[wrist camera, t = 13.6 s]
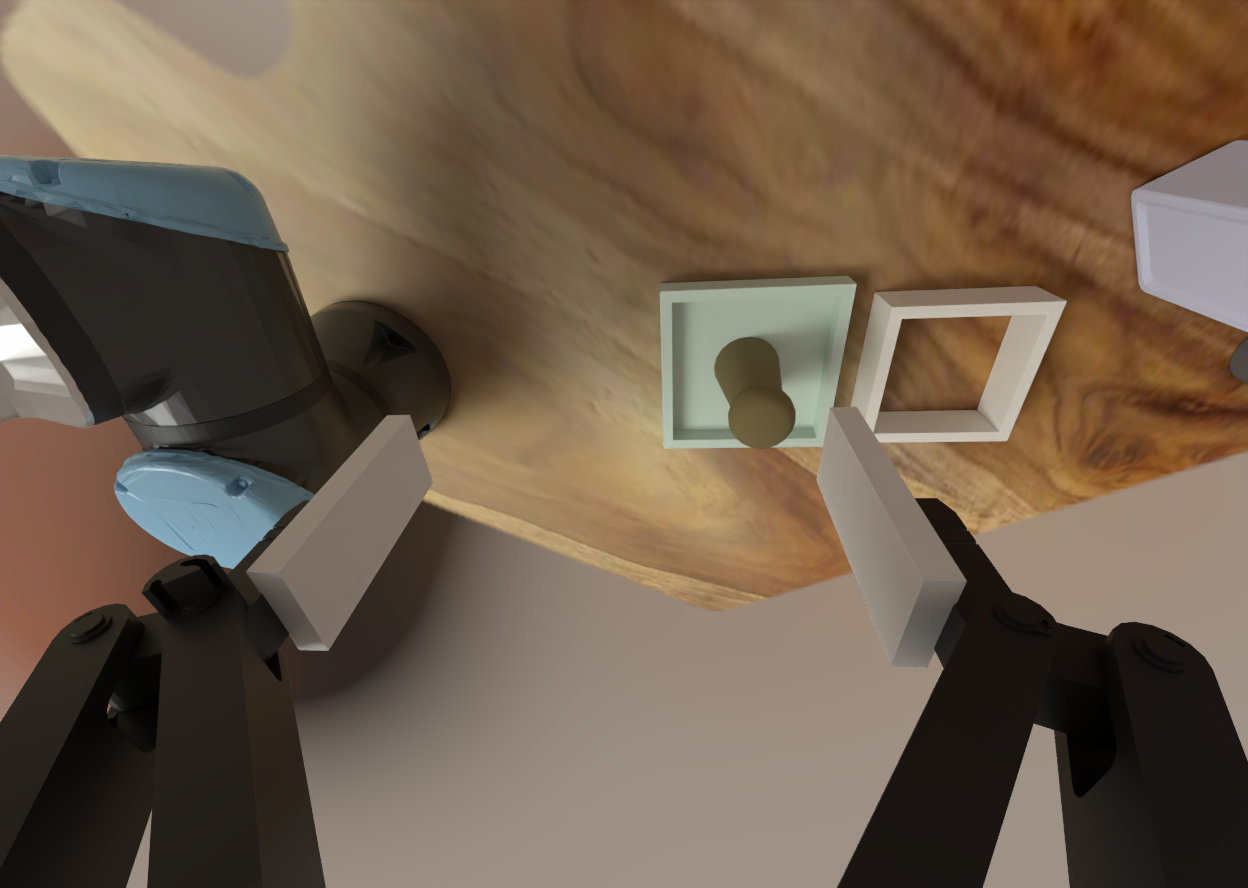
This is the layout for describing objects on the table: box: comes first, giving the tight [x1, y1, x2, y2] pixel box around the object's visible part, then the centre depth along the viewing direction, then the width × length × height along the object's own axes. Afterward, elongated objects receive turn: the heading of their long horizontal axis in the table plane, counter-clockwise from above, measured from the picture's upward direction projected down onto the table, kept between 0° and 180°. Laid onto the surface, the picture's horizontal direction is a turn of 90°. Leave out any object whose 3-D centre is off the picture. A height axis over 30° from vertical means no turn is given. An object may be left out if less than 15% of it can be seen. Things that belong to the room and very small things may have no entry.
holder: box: [850, 286, 1067, 442], centre depth 45 cm, size 13×13×4 cm
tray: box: [660, 276, 857, 448], centre depth 47 cm, size 16×16×2 cm
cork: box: [714, 337, 796, 449], centre depth 43 cm, size 6×6×11 cm
